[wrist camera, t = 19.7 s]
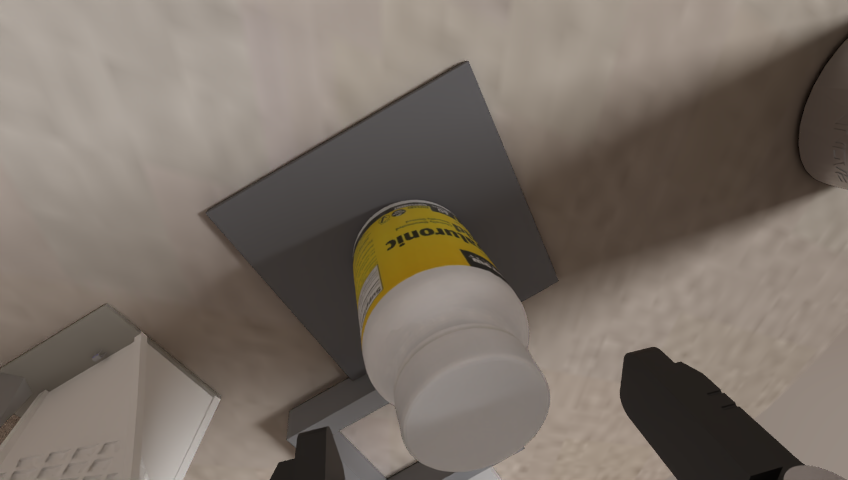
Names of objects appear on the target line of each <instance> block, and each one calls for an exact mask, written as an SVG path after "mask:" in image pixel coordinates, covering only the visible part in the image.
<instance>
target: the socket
mask: <svg viewBox="0 0 848 480" xmlns="http://www.w3.org/2000/svg"><path fill="white" fill-rule="evenodd" d="M388 403H389V402H388V401H386V400H385V399H384V398H383V397H382V396H381V395H380V394H379V393H378V391H377V390H376V389H375V387H374V386H373V384H372V383H371V381H370V378H369V376H368V374H365V375H363V376H361V377H359V378H358V379H356V380H354V381H352V380H351V379H350V378H348V379H346V380H344V381H342V382H340V383H339V384H337V385H335V386H333V387H332V388H330V389H328V390H326V391H324V392H323V393H321V394H319V395H317V396H316V397H314V398H312V399H310V400H308V401H307V402H305V403H303V404H301V405H300V406H298V407H296V408H294V409H292V410H291V411H289V419H288V429H287V441H288V442H290V443H291V444H292V445H293V446H294V447H295V448H296V442H297V437H298V434H299V433H302V432H306V431H310V430H314V429H318V428H322V427H326V426H329V427H330V429H331V431H332V434H333V437H334V440H335V443H336V446H337V449H338V452H339V455H340V458H341V461H342V464H343V468H344V474H345V480H502V479H501V478H500V477H499V475H498V474H497V472H496V471H495V470H494V468H493V467H492V466H494V465H496V464H497V463H496V464H494V465H491V466H488V467H485V468H482V469H477V470H472V471H466V472H448V471H441V470H436V469H433V468H431V467H428V466H426V465H424V464H422V463H420V462H418V463H416V464H414V465H412V466H410V467H409V468H407V469H405V470H403V471H401V472H400V473H398V474H396V475H394V476H392V477H391V478H389V479H386V478H385V477H384V476H383V475H382V474H381V473H380V472H379V471H378V470H377V469H376V468H375V467H374V466H373V465H372V464H371V463H370V462H369V461H368V460H367V459H366V458H365V457H364V456H363V455H362V454H361V453H360V452H359V451H358V450H357V449H356V448H355V447H354V446H353V445H352V444H351V443H350V442H349V441H348V440H347V439H346V438H345V437H344V436H343V435H342V434H341V433H340V430H342V429H343V428H345V427H347V426H349V425H351V424H352V423H354V422H356V421H358V420H359V419H361V418H363V417H365V416H367V415H368V414H370V413H372V412H374V411H376V410H377V409H379V408H381V407H383V406H385V405H386V404H388ZM523 449H525V448H524V447H523V448H522V449H520V450H519V451H521V450H523ZM519 451H518V452H519ZM516 453H517V452H516ZM516 453H515V454H516ZM513 455H514V454H513ZM498 463H499V462H498Z"/></svg>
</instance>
